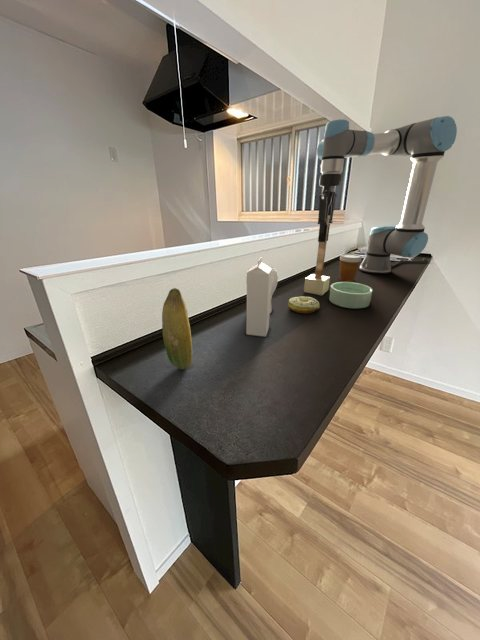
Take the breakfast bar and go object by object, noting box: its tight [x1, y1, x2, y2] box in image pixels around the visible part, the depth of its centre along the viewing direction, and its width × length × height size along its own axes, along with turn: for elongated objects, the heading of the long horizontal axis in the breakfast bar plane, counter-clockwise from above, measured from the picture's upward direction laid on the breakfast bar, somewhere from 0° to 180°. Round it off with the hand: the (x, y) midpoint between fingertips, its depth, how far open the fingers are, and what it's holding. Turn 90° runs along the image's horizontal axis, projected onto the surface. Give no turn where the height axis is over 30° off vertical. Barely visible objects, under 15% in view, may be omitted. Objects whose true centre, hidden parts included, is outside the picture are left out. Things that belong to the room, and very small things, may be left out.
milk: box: [245, 256, 273, 338], centre depth 75 cm, size 6×6×22 cm
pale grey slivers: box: [245, 266, 279, 314], centre depth 91 cm, size 11×11×15 cm
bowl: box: [328, 281, 374, 309], centre depth 100 cm, size 15×15×6 cm
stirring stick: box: [314, 215, 330, 278], centre depth 106 cm, size 2×2×24 cm
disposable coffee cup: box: [339, 253, 362, 282], centre depth 125 cm, size 10×10×12 cm
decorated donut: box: [288, 295, 320, 314], centre depth 95 cm, size 10×11×4 cm
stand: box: [303, 273, 331, 296], centre depth 112 cm, size 8×8×6 cm
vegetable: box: [161, 287, 193, 370], centre depth 58 cm, size 6×6×20 cm
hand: (322, 241), depth 105 cm, fingers closed on stirring stick, 2 cm apart
